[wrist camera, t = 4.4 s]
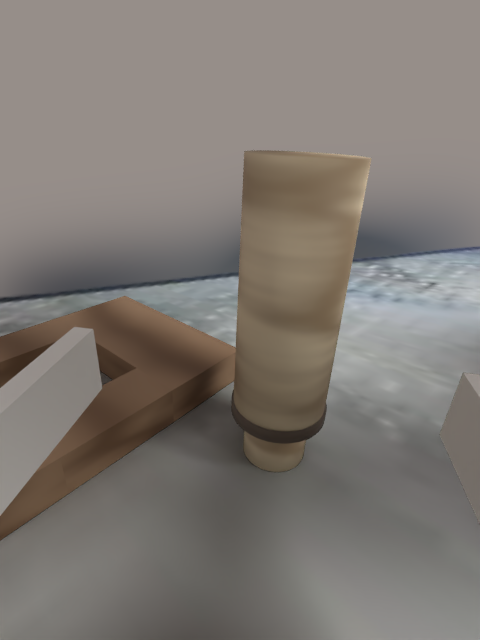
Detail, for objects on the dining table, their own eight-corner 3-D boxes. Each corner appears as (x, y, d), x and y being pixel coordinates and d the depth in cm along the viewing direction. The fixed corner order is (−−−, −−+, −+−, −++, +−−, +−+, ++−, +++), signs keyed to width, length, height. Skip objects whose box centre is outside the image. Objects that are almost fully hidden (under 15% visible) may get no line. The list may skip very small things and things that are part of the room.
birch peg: (263, 406, 25) (287, 150, 18) (332, 444, 23) (393, 158, 15) (211, 450, 22) (214, 150, 14) (286, 502, 19) (336, 161, 12)
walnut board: (127, 319, 36) (125, 295, 35) (238, 377, 28) (240, 349, 27) (-159, 429, 22) (-179, 395, 21) (-94, 604, 14) (-120, 565, 13)
